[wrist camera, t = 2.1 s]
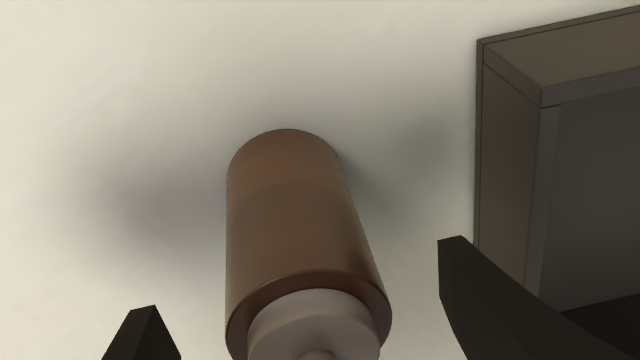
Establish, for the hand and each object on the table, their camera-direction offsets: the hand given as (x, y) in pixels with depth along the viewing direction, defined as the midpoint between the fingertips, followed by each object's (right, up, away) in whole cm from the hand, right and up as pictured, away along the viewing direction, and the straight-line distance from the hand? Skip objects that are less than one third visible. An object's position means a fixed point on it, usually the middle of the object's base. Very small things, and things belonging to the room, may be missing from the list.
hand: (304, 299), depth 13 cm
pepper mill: (-1, +3, +5) cm, 6 cm away
